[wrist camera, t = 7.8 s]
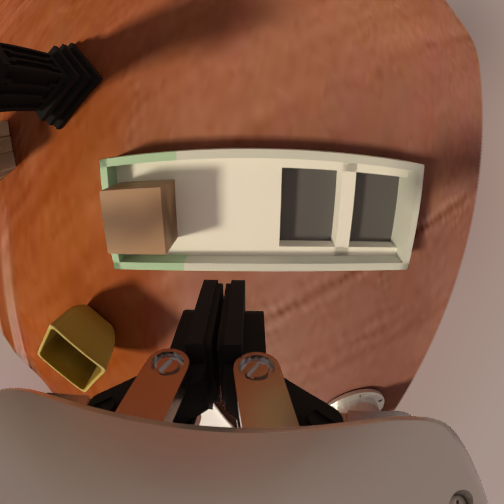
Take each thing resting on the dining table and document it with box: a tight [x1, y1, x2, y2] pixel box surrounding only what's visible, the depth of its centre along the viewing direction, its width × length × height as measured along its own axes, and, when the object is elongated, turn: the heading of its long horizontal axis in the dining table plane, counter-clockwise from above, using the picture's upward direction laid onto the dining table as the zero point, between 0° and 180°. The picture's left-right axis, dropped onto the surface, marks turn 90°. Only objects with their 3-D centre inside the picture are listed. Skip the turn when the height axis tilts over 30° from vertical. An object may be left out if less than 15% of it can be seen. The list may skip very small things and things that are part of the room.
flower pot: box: [38, 305, 115, 392], centre depth 31 cm, size 9×9×9 cm
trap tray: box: [100, 148, 424, 271], centre depth 27 cm, size 12×32×4 cm, turn 90°
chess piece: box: [0, 43, 103, 129], centre depth 13 cm, size 8×8×20 cm
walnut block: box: [100, 179, 178, 255], centre depth 25 cm, size 6×6×4 cm
